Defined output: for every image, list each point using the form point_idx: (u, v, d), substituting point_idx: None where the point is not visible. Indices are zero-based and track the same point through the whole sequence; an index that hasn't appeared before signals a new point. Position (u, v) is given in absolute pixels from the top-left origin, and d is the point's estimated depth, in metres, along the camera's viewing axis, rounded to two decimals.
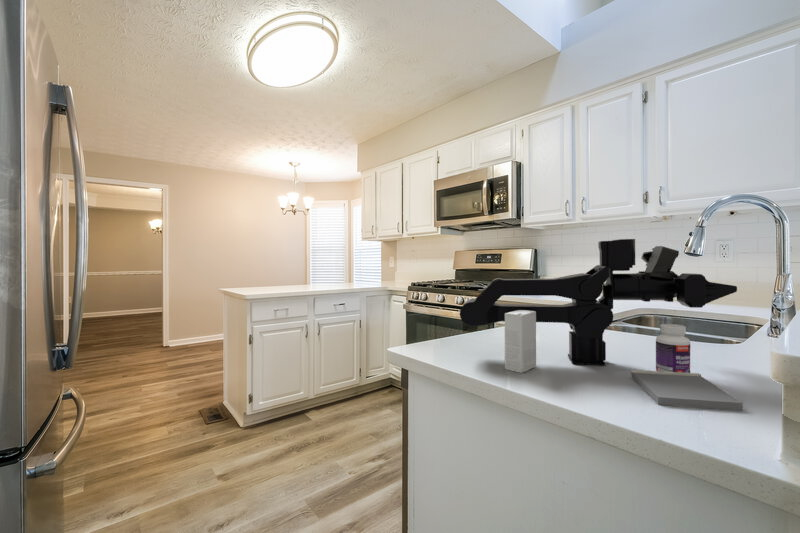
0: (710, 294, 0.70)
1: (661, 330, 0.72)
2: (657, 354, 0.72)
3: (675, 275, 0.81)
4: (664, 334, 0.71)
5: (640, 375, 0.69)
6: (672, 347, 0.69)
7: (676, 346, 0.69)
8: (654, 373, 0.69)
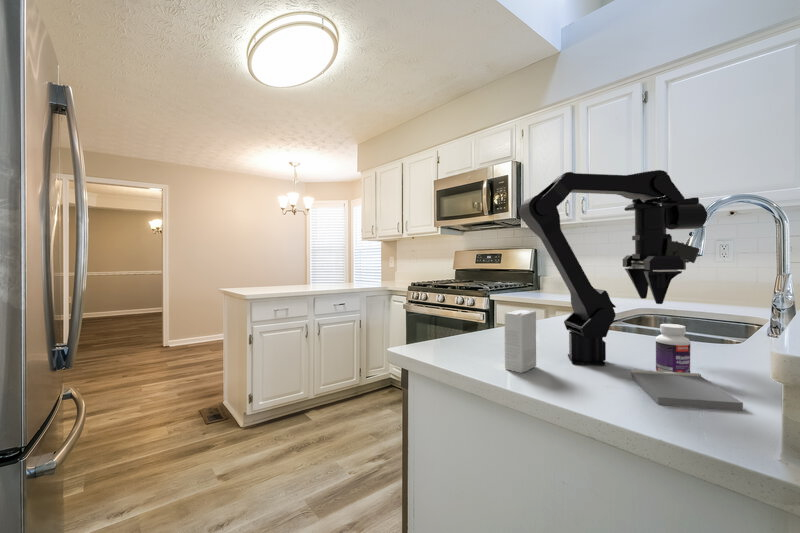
0: (656, 281, 0.76)
1: (661, 330, 0.72)
2: (657, 354, 0.72)
3: None
4: (664, 334, 0.71)
5: (640, 375, 0.69)
6: (672, 347, 0.69)
7: (676, 346, 0.69)
8: (654, 373, 0.69)
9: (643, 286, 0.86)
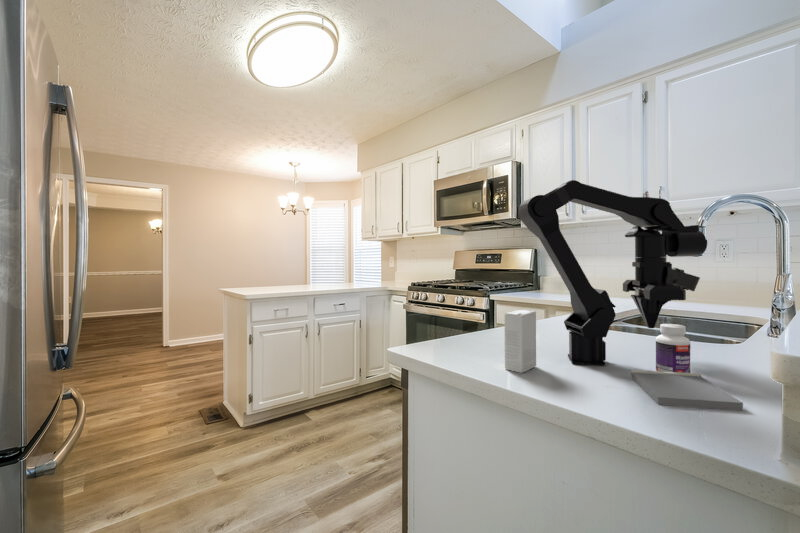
0: (648, 307, 0.81)
1: (661, 330, 0.72)
2: (657, 354, 0.72)
3: None
4: (664, 334, 0.71)
5: (640, 375, 0.69)
6: (672, 347, 0.69)
7: (676, 346, 0.69)
8: (654, 373, 0.69)
9: None
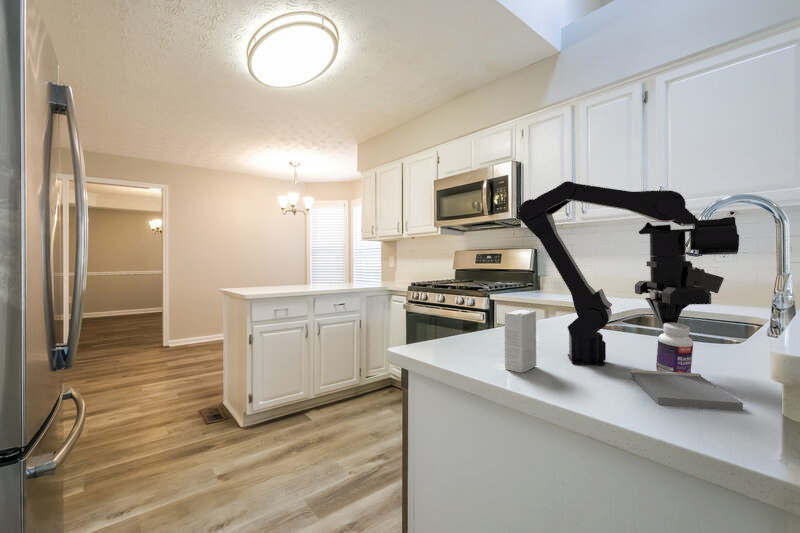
0: (666, 311, 0.72)
1: (664, 330, 0.70)
2: (658, 353, 0.71)
3: None
4: (667, 334, 0.70)
5: (640, 375, 0.69)
6: (674, 348, 0.68)
7: (679, 347, 0.68)
8: (654, 373, 0.69)
9: None
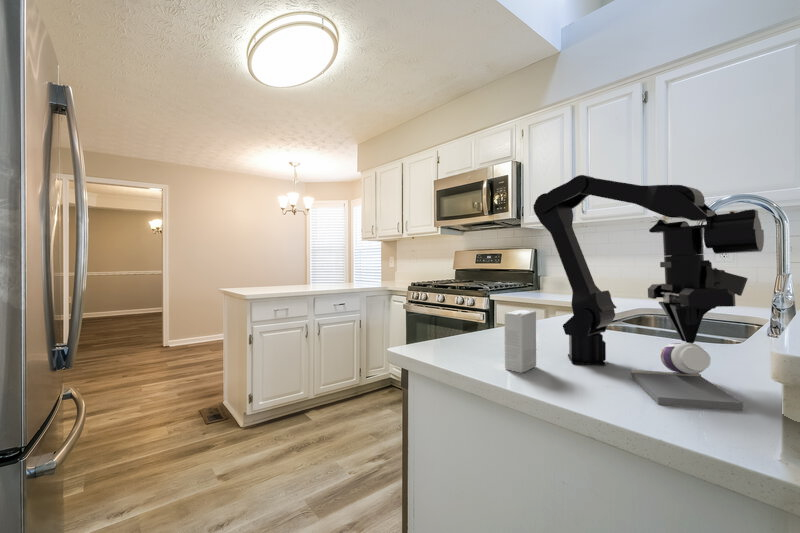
0: (685, 317, 0.65)
1: (680, 357, 0.64)
2: (666, 356, 0.68)
3: None
4: (680, 360, 0.64)
5: (640, 375, 0.69)
6: (680, 371, 0.66)
7: None
8: (654, 373, 0.69)
9: None
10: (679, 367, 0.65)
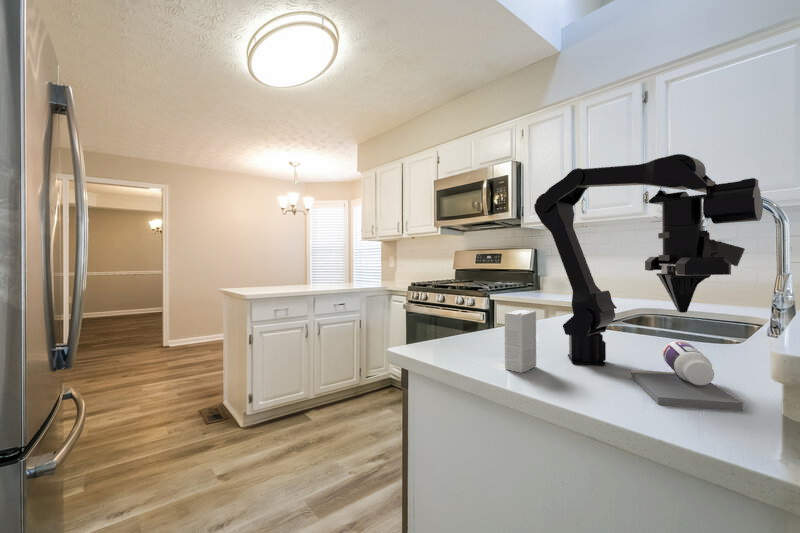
0: (679, 287, 0.66)
1: (683, 370, 0.63)
2: (669, 359, 0.67)
3: None
4: None
5: (640, 375, 0.69)
6: None
7: None
8: (654, 373, 0.69)
9: None
10: (680, 376, 0.64)
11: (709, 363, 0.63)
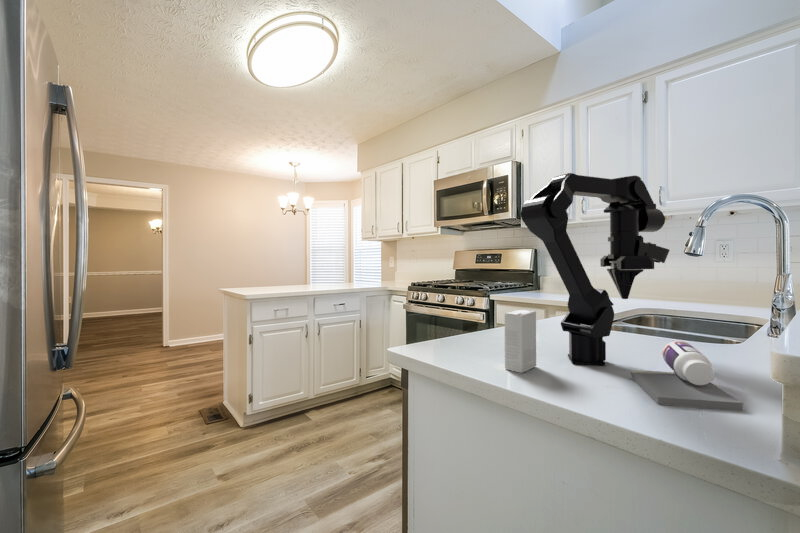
0: (622, 279, 0.85)
1: (683, 370, 0.63)
2: (668, 360, 0.68)
3: None
4: (683, 371, 0.63)
5: (640, 375, 0.69)
6: None
7: None
8: (654, 373, 0.69)
9: None
10: (680, 376, 0.64)
11: (708, 363, 0.63)
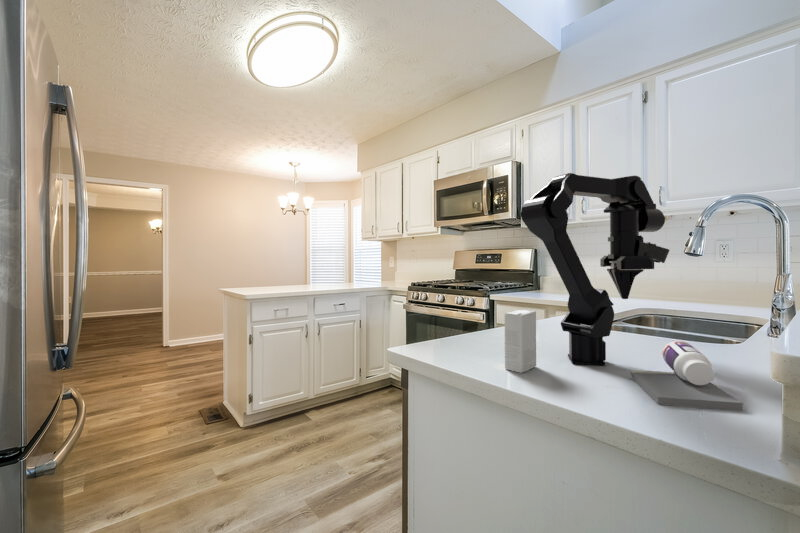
0: (621, 279, 0.85)
1: (683, 370, 0.63)
2: (668, 360, 0.68)
3: None
4: (683, 371, 0.63)
5: (640, 375, 0.69)
6: None
7: None
8: (654, 373, 0.69)
9: None
10: (680, 376, 0.64)
11: (708, 363, 0.63)
